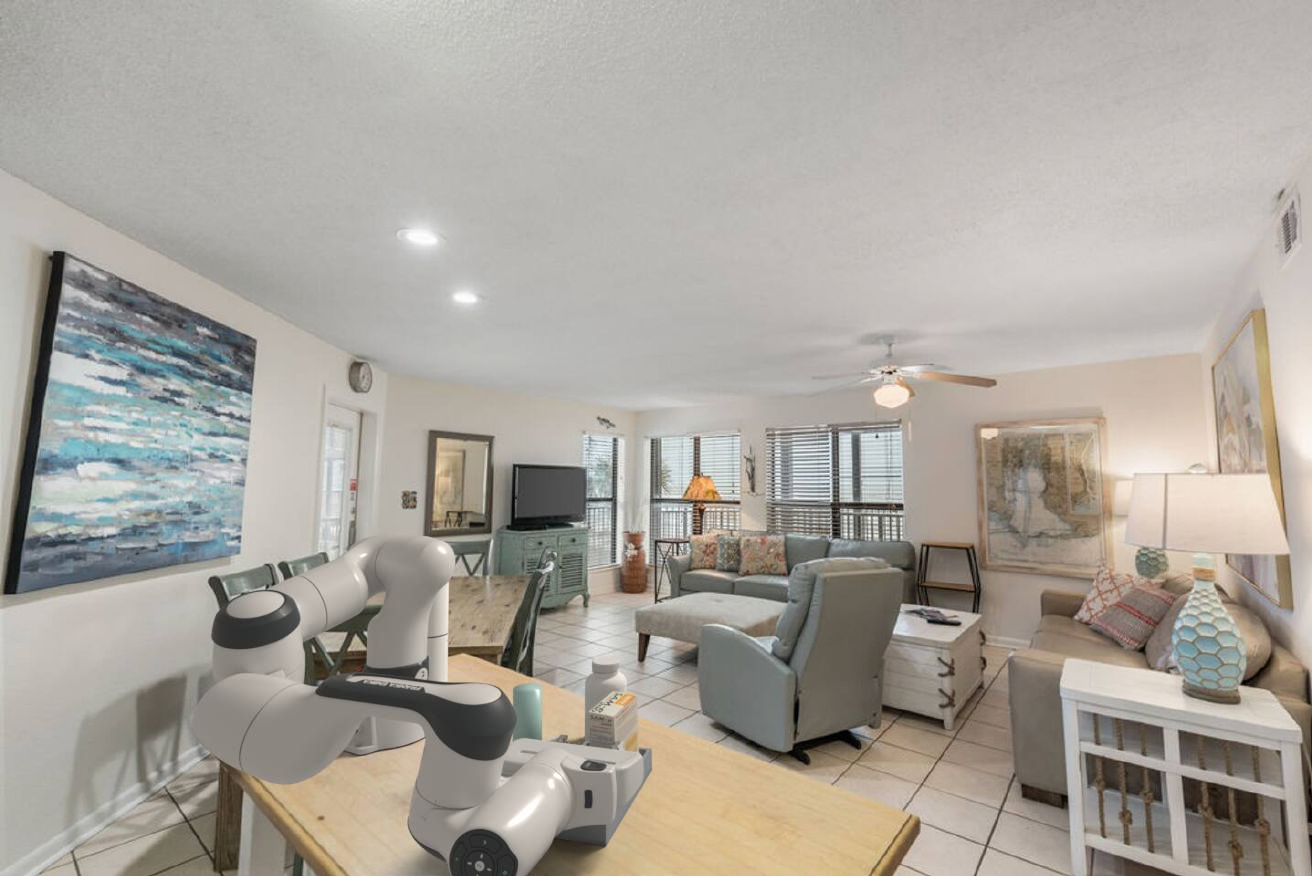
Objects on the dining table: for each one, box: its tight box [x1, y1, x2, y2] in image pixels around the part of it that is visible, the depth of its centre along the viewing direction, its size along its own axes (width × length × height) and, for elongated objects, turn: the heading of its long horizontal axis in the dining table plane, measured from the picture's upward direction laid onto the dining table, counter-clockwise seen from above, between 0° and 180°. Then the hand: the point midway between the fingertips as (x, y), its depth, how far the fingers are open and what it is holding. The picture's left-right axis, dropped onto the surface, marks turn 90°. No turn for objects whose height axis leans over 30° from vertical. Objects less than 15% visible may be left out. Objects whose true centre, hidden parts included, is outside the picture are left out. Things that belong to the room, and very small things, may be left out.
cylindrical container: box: [427, 581, 450, 682], centre depth 140 cm, size 7×7×25 cm
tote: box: [554, 740, 653, 847], centre depth 87 cm, size 12×21×4 cm, turn 164°
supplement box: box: [588, 691, 640, 753], centre depth 89 cm, size 8×5×13 cm, turn 156°
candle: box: [512, 682, 543, 742], centre depth 99 cm, size 5×5×13 cm
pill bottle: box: [584, 655, 628, 742], centre depth 108 cm, size 8×8×15 cm
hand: (591, 742), depth 86 cm, fingers open, 8 cm apart
